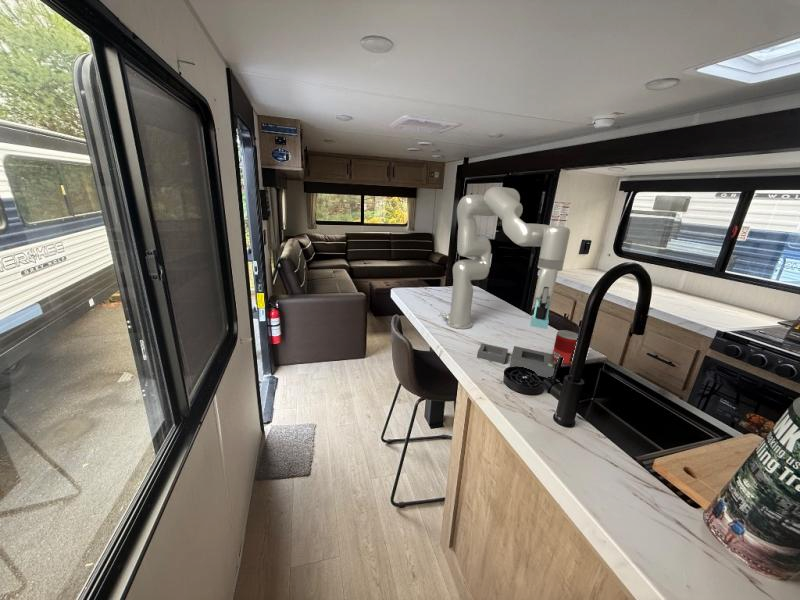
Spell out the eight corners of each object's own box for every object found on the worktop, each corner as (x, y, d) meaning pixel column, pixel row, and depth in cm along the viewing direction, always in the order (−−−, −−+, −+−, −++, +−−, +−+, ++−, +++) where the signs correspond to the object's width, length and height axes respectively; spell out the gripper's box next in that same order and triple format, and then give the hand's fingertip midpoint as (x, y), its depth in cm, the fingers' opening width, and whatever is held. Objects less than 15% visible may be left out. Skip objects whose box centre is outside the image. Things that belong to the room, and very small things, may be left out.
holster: (476, 357, 116) (477, 351, 116) (481, 348, 124) (482, 343, 123) (504, 364, 112) (505, 357, 112) (507, 354, 120) (507, 348, 119)
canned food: (574, 367, 113) (580, 339, 110) (550, 361, 117) (556, 334, 114) (575, 359, 119) (581, 333, 116) (552, 353, 123) (558, 328, 120)
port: (509, 368, 109) (511, 356, 108) (512, 355, 120) (514, 344, 119) (552, 379, 104) (555, 366, 103) (551, 364, 114) (554, 353, 113)
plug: (530, 326, 107) (534, 301, 104) (530, 322, 110) (535, 298, 108) (547, 329, 105) (552, 303, 102) (547, 325, 108) (551, 300, 106)
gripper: (538, 260, 110) (529, 308, 115) (537, 266, 96) (527, 321, 101) (562, 262, 107) (551, 312, 112) (564, 269, 93) (552, 326, 98)
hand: (540, 316), depth 107 cm, fingers closed on plug, 3 cm apart
